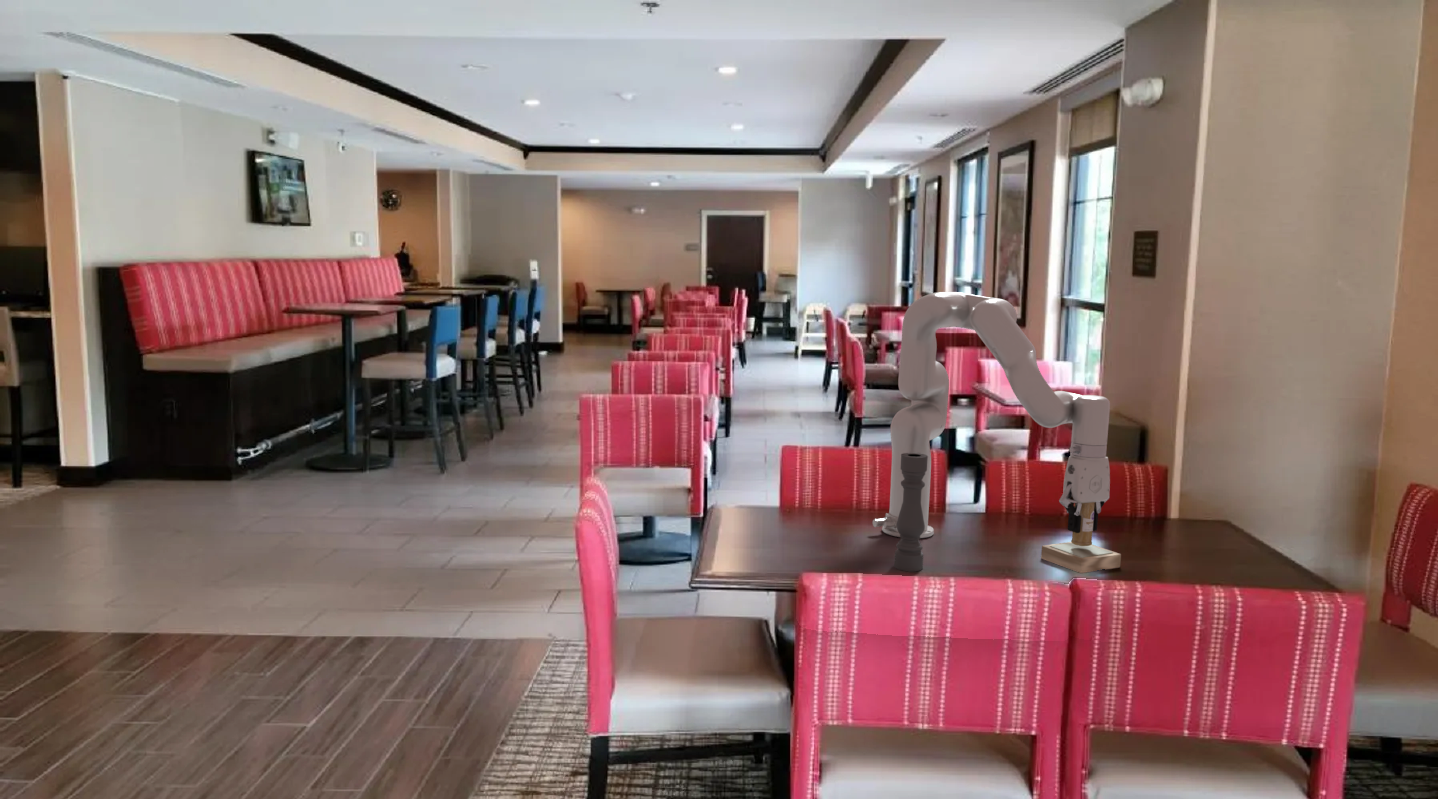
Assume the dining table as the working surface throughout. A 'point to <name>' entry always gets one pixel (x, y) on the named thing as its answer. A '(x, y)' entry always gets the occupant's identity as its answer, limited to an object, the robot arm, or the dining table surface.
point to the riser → (1080, 557)
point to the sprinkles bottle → (1085, 525)
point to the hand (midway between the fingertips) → (1082, 529)
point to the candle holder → (911, 513)
